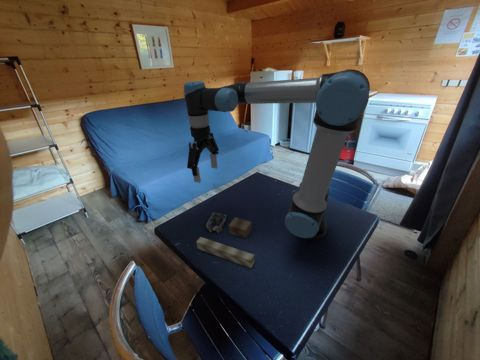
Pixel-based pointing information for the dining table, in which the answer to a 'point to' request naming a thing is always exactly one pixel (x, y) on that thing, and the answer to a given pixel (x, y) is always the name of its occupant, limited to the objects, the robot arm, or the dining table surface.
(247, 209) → the dining table surface
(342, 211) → the dining table surface
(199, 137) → the robot arm
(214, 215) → the egg carton
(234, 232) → the block
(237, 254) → the board
